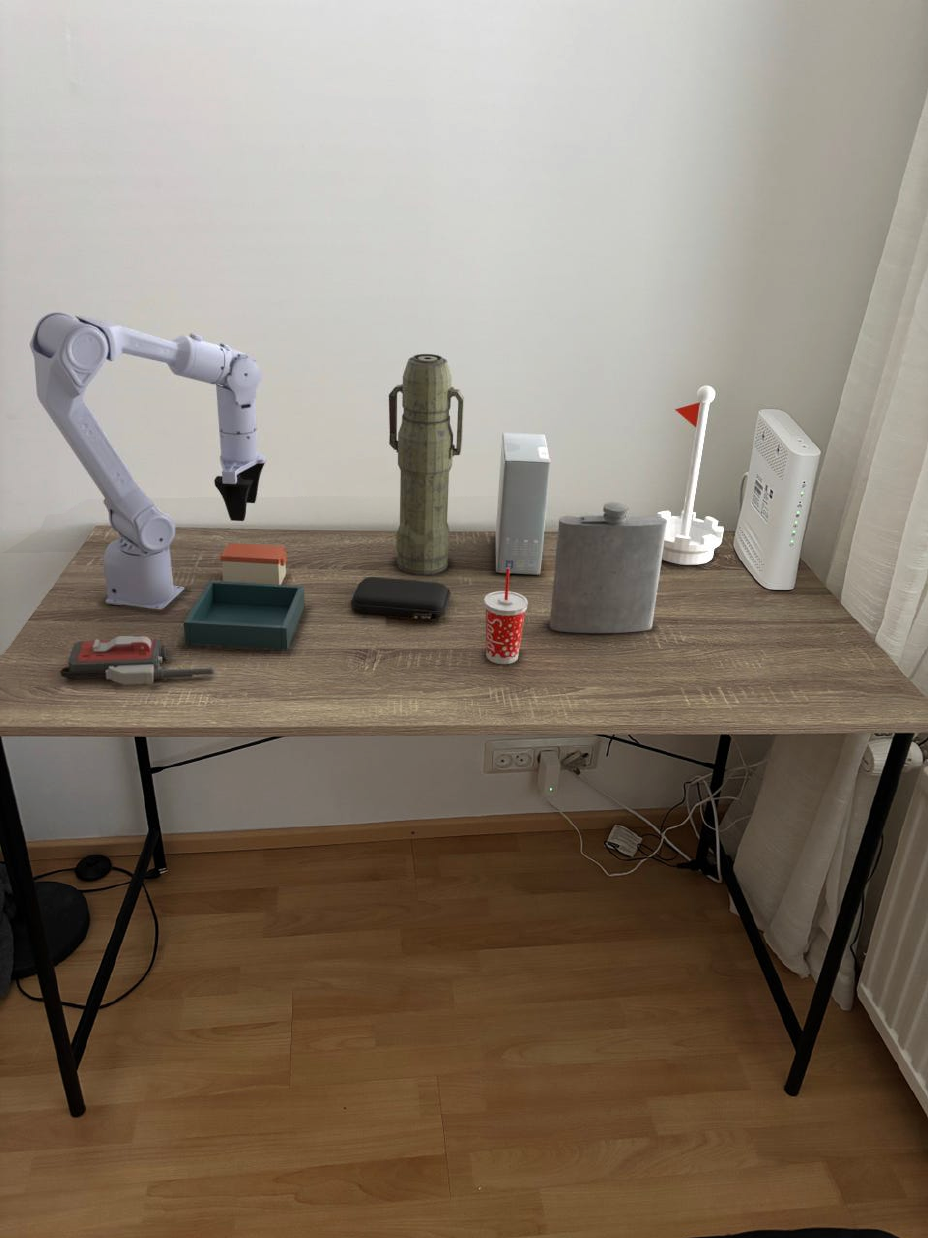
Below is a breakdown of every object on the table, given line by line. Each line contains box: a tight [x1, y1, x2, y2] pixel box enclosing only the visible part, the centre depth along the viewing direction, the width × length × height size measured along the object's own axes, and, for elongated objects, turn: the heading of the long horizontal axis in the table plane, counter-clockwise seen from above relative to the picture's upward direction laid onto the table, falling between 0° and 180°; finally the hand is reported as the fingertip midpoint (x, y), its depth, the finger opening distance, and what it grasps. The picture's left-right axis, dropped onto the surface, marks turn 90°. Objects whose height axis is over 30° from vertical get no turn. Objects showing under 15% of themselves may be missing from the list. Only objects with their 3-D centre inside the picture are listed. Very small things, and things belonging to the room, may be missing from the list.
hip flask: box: [549, 501, 667, 634], centre depth 152 cm, size 16×4×20 cm, turn 95°
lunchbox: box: [220, 542, 288, 585], centre depth 164 cm, size 10×5×6 cm, turn 87°
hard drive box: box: [495, 432, 552, 576], centre depth 174 cm, size 16×8×20 cm, turn 179°
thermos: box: [388, 353, 465, 576], centre depth 166 cm, size 9×12×35 cm
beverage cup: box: [483, 567, 529, 665], centre depth 144 cm, size 6×6×14 cm
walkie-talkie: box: [60, 635, 215, 686], centre depth 139 cm, size 9×4×20 cm
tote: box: [183, 580, 306, 651], centre depth 151 cm, size 15×14×4 cm
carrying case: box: [350, 576, 452, 621], centre depth 158 cm, size 11×3×15 cm
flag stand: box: [656, 385, 724, 566], centre depth 176 cm, size 13×13×30 cm
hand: (243, 510), depth 164 cm, fingers open, 7 cm apart
